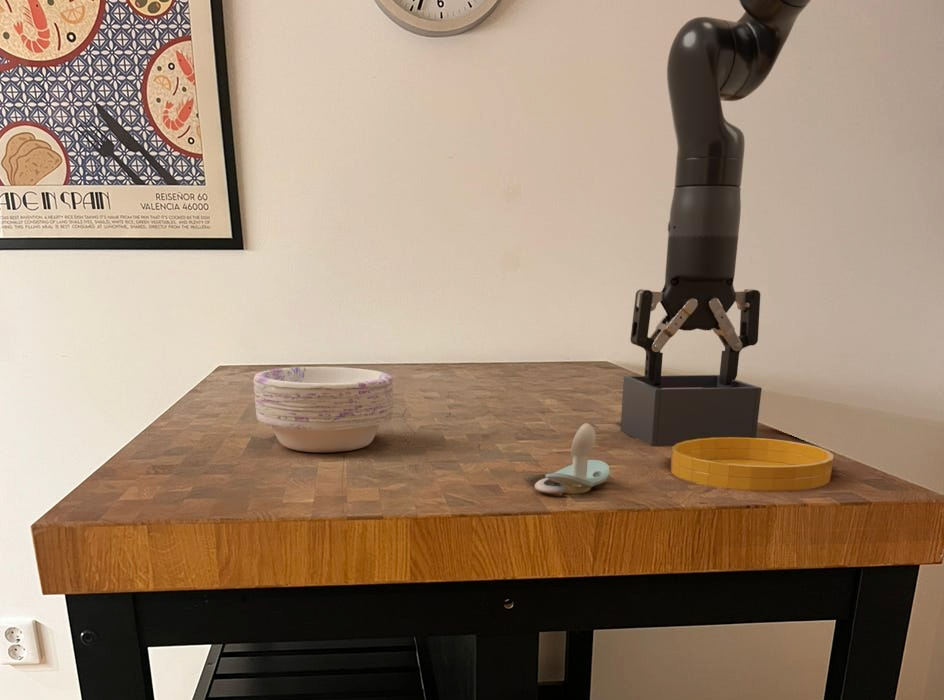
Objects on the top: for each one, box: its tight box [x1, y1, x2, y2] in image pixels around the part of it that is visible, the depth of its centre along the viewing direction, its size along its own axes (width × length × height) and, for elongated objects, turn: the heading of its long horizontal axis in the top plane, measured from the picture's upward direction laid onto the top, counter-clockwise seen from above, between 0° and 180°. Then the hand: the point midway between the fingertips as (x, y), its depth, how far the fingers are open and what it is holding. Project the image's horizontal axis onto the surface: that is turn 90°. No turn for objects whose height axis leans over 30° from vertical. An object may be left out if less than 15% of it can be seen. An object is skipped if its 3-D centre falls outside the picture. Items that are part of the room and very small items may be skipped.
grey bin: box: [620, 374, 762, 448], centre depth 112 cm, size 12×12×6 cm
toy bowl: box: [670, 437, 835, 492], centre depth 94 cm, size 15×15×2 cm
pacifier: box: [534, 422, 611, 495], centre depth 87 cm, size 7×6×6 cm
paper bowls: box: [252, 366, 394, 454], centre depth 107 cm, size 15×15×8 cm
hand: (690, 385), depth 111 cm, fingers open, 8 cm apart
